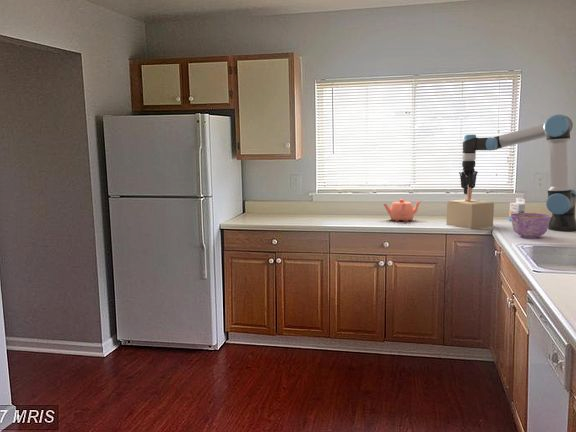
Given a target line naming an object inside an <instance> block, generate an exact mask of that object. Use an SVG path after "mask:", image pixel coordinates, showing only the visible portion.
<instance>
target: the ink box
mask: <svg viewBox="0 0 576 432" xmlns="http://www.w3.org/2000/svg"><path fill="white" fill-rule="evenodd" d="M525 204H526V199H525V198H522V197H521V198H520V197H516V198H515V202H509V212H508V213H509V214H508V215H509V217H508V218H509V219H508V221H509V222H512V221H511V216H510V215H511V214H514V213H526V212H525V209H526V205H525Z"/></svg>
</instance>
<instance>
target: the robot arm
mask: <svg viewBox="0 0 576 432" xmlns="http://www.w3.org/2000/svg"><path fill="white" fill-rule="evenodd" d="M573 125H574V123H573V121H572V119H571V118H570V117H568V116H567V115H563V114H554V115H552V116H550V117H548V118H547V119H546V120H545V121H544V122H543V124H538V125H535V126H531V127H528V128H523V129H520V130H517V131H516V130H515V131H511V132H508V133H505V134H501V135H497V136H492V137H491V136H490V137H477V135H476V134H464V135H463V137H462V162H461V164H462V165H461V166H462V170H461V171H459V175H460V179H459V180H460V187H461V188H462V189H463V194H464V196H463V198H464V199H466V200H469V189H468V188H471V195H472V194H473V189H474V188H476V182H477V175H478V174H479V173H478V171H477V170H475V167H476V158H477V157H476V155H477V154H476V152H477V151H495V150H500V149H502V148H503V149H504V148H507V147H511V146H514V145H519V144H523V143H526V142H531V141H535V140H540V139H543V138H546V139H545V140H546V142H547V143H549V168H550V169H549V171H550V174H549V177H550V179H549V180H550V186H549V188H548V189H547V199H546V205H545V206H546V209H547V210H548V211H549V212H550V213H552V214H551V220H550V223H549V226H548V229H547V230H551V231H558V232H576V190H575V189H571V187H569V173H568V172H569V171H568V166H569V165H568V163H569V162H568V142H569V141H570V139H571V132H572V131H573V130H572V129H573Z"/></svg>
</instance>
